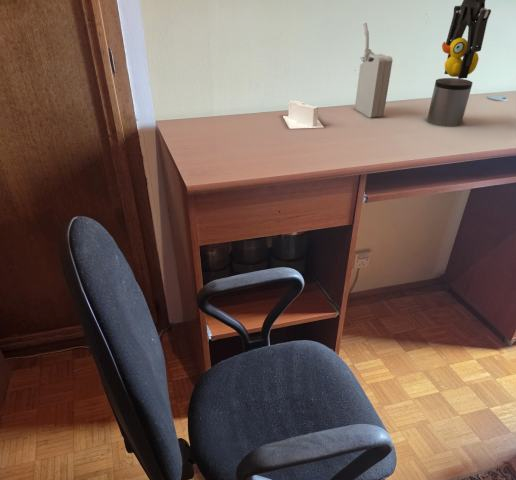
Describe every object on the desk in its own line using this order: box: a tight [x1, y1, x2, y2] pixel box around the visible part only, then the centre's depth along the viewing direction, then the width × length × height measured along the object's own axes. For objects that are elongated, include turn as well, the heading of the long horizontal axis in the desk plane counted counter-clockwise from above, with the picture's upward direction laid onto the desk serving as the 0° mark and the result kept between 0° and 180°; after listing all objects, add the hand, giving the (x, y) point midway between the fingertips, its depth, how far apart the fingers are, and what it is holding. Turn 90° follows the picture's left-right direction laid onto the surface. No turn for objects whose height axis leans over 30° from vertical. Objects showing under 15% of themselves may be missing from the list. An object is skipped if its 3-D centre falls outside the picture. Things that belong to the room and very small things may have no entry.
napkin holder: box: [282, 99, 324, 130], centre depth 147 cm, size 15×11×6 cm
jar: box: [426, 77, 473, 127], centre depth 145 cm, size 11×11×12 cm
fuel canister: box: [354, 22, 394, 119], centre depth 150 cm, size 15×5×25 cm, turn 16°
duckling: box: [441, 37, 480, 78], centre depth 137 cm, size 11×5×10 cm, turn 75°
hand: (455, 75), depth 140 cm, fingers closed on duckling, 6 cm apart
